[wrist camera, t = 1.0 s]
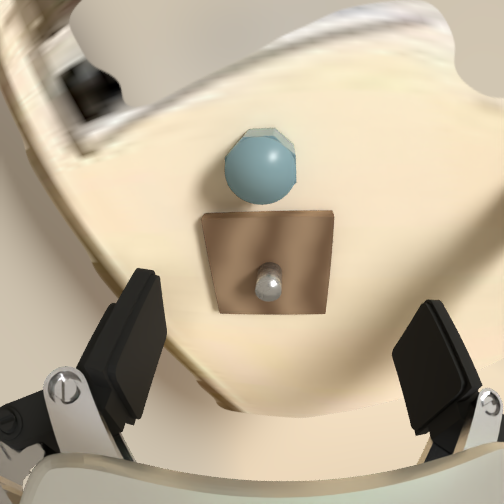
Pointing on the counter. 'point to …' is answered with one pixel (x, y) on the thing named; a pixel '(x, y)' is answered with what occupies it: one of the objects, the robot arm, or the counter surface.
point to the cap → (261, 166)
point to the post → (269, 282)
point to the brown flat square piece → (270, 259)
